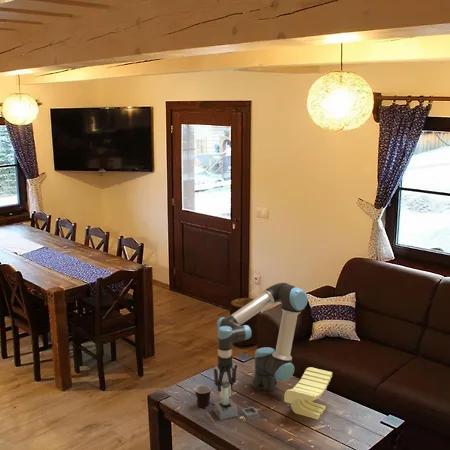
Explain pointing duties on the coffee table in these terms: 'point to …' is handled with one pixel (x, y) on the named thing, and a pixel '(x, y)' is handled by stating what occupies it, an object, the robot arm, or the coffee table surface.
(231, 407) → the port block
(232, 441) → the coffee table surface
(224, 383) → the plug
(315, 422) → the coffee table surface
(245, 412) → the grey square open tray
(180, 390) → the coffee table surface
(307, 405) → the slatted curved stool
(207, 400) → the coffee mug
